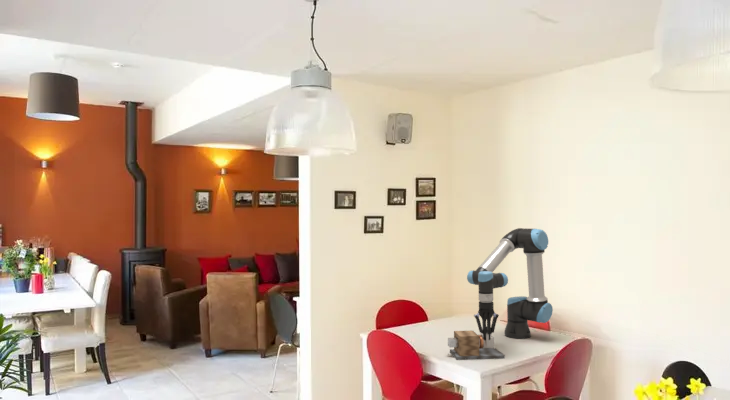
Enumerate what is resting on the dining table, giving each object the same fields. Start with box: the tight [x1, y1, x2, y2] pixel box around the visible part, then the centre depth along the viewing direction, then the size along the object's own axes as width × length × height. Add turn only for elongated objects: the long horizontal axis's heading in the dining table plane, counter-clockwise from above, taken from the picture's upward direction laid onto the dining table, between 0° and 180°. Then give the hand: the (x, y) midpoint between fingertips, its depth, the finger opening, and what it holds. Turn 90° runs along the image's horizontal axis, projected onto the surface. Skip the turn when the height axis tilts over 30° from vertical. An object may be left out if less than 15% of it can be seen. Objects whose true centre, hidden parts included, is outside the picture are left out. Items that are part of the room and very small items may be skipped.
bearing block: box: [449, 330, 506, 361], centre depth 283 cm, size 25×14×12 cm, turn 95°
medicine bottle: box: [479, 325, 495, 348], centre depth 295 cm, size 7×7×12 cm
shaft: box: [447, 334, 484, 349], centre depth 283 cm, size 18×7×7 cm, turn 95°
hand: (486, 346), depth 284 cm, fingers closed
